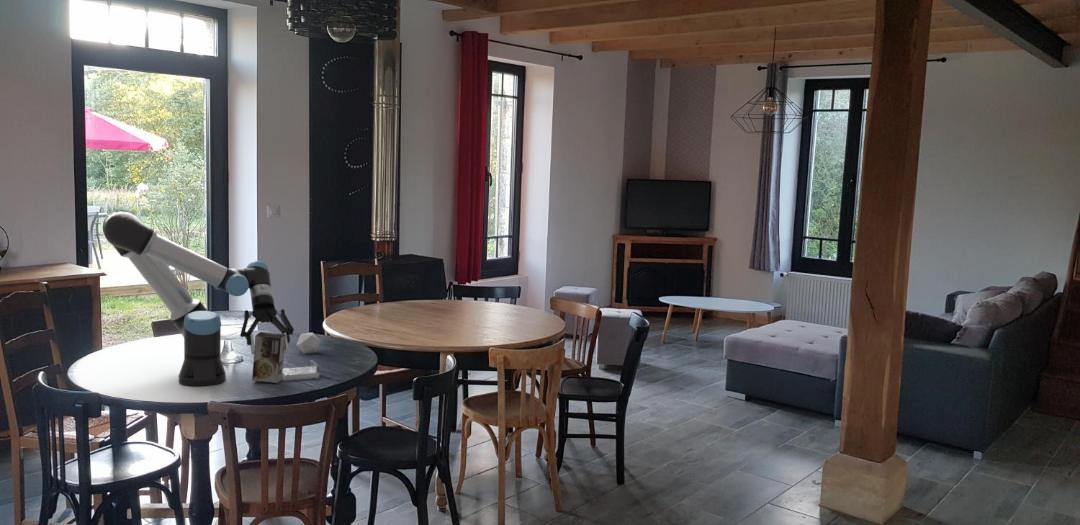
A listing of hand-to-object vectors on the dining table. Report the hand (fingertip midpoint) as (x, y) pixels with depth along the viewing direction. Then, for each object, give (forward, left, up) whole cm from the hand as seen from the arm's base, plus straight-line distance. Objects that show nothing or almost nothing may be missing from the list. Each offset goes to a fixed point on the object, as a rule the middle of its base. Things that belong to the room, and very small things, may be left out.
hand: (270, 351), depth 292 cm
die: (+23, +41, -11) cm, 49 cm away
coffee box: (-1, +1, -11) cm, 11 cm away
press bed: (+11, +5, -11) cm, 17 cm away
